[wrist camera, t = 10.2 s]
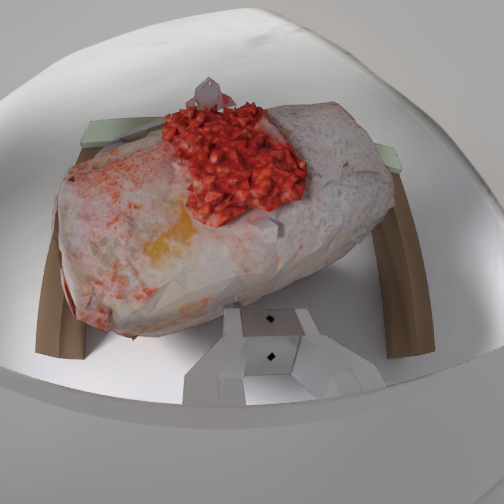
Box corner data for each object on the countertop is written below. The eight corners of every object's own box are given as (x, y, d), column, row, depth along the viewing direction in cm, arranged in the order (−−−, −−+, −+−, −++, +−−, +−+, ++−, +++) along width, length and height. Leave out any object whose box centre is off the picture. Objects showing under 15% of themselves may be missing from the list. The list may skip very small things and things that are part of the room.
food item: (135, 362, 13) (26, 360, 4) (94, 236, 15) (18, 121, 6) (344, 266, 17) (451, 178, 8) (284, 168, 19) (332, 51, 10)
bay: (62, 355, 12) (29, 351, 9) (103, 154, 17) (90, 121, 14) (404, 355, 15) (440, 350, 12) (372, 175, 20) (394, 148, 17)
